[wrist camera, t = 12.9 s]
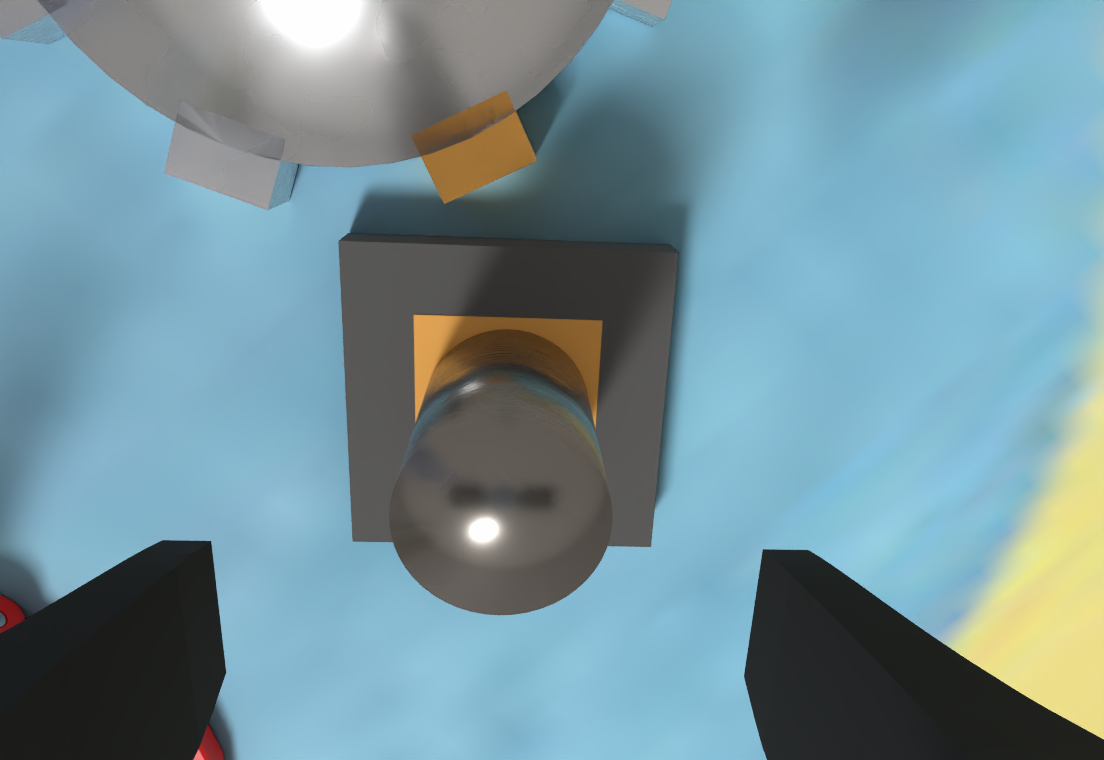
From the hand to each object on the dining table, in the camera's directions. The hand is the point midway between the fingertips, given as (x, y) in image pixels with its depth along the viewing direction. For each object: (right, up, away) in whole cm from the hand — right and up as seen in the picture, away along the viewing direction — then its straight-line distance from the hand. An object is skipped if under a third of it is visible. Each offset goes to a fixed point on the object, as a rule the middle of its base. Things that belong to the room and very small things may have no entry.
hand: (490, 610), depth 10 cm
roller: (0, +2, +7) cm, 8 cm away
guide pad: (0, +3, +8) cm, 9 cm away
